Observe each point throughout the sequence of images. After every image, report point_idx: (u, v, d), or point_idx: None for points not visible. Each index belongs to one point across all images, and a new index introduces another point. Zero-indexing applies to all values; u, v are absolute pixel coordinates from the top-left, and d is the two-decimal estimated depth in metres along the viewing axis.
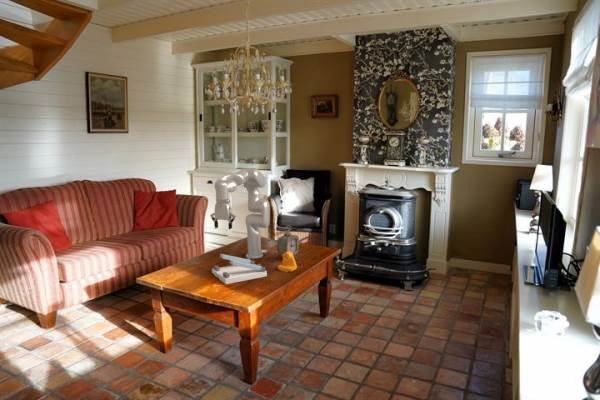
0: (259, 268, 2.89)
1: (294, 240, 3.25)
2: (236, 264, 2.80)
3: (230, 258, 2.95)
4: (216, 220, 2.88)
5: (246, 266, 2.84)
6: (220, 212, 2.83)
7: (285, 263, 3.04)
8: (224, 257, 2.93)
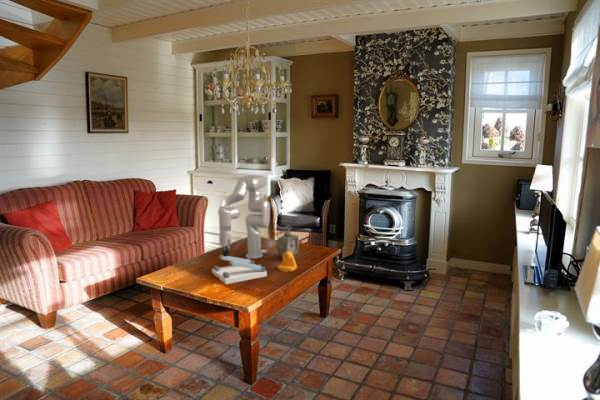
0: (259, 268, 2.89)
1: (294, 240, 3.25)
2: (236, 264, 2.80)
3: (229, 259, 2.95)
4: None
5: (246, 266, 2.84)
6: None
7: (285, 263, 3.04)
8: (224, 258, 2.93)
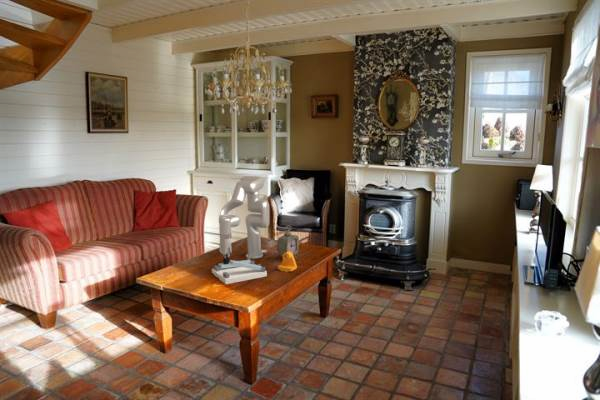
0: (259, 268, 2.89)
1: (294, 240, 3.25)
2: (236, 264, 2.80)
3: (228, 266, 2.95)
4: None
5: (246, 266, 2.84)
6: None
7: (285, 263, 3.04)
8: (222, 266, 2.93)
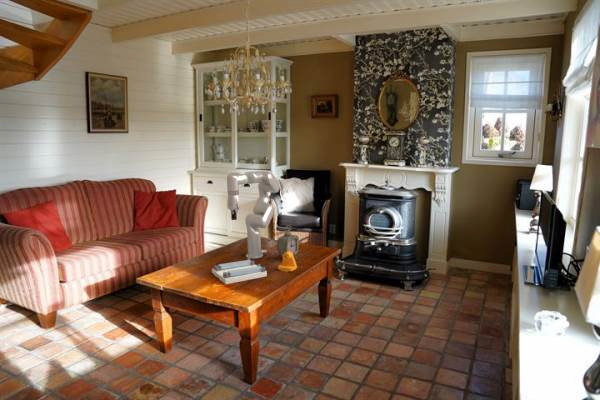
0: (258, 269, 2.89)
1: (294, 240, 3.25)
2: (234, 274, 2.81)
3: (228, 266, 2.95)
4: None
5: (245, 272, 2.84)
6: None
7: (285, 263, 3.04)
8: (222, 267, 2.93)
